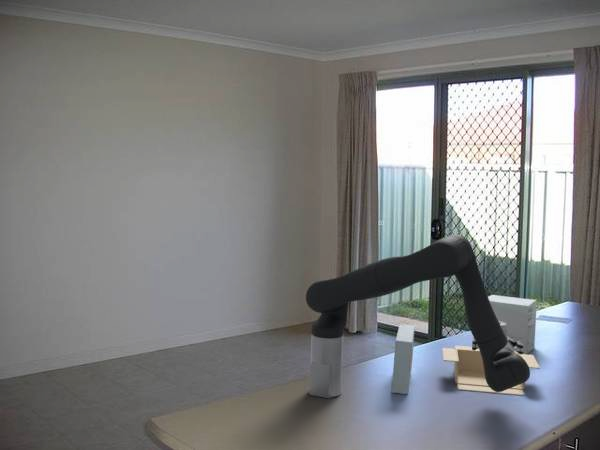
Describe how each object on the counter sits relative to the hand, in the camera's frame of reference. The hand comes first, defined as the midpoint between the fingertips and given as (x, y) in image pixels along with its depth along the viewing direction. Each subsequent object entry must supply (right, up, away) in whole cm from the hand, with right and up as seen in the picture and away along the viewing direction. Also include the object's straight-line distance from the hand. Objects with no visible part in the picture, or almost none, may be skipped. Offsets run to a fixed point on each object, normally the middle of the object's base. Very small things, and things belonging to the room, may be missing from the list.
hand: (494, 338), depth 196 cm
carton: (+2, -16, +15) cm, 22 cm away
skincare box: (-25, -16, +12) cm, 32 cm away
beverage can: (-1, -7, -2) cm, 7 cm away
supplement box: (+20, -13, +54) cm, 59 cm away
